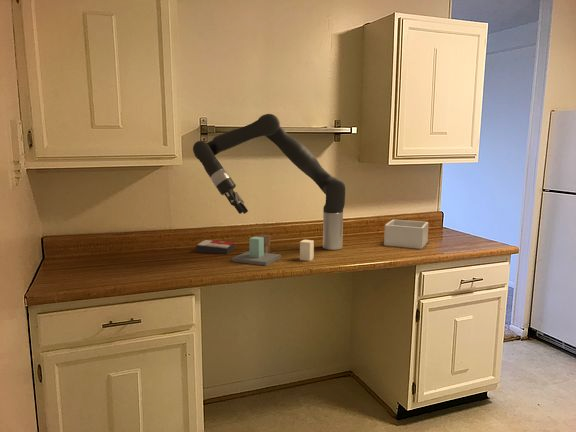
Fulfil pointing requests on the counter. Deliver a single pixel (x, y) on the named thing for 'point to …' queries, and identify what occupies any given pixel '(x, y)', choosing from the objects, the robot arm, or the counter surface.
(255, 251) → the teal block
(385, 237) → the box
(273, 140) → the robot arm
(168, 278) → the counter surface
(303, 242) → the cream block
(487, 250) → the counter surface
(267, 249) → the walnut block
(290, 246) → the counter surface
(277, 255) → the grey flat slab
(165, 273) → the counter surface
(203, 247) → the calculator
